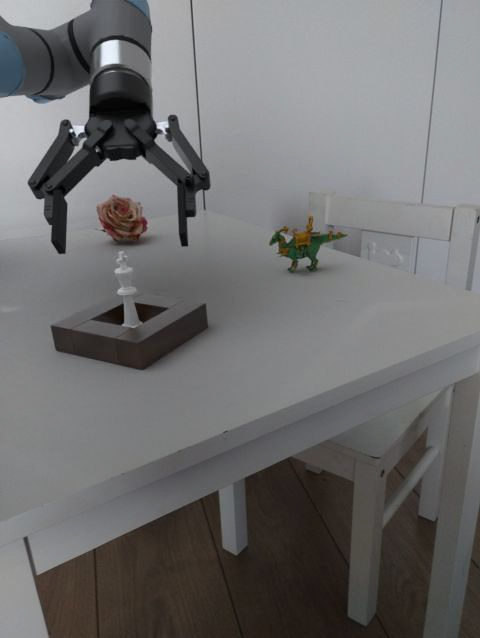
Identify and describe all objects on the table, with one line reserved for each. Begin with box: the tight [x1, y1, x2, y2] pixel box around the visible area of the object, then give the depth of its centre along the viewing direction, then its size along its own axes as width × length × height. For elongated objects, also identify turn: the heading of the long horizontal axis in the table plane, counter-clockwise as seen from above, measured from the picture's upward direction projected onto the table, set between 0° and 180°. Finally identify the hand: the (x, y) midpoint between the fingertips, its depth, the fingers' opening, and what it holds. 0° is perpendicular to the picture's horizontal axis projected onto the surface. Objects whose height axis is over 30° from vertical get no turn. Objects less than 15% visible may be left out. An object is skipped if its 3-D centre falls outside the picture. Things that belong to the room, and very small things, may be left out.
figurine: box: [268, 214, 349, 274], centre depth 84 cm, size 3×12×8 cm, turn 100°
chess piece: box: [114, 251, 142, 328], centre depth 63 cm, size 5×5×10 cm
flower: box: [94, 194, 149, 246], centre depth 107 cm, size 10×9×8 cm
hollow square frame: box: [50, 292, 209, 371], centre depth 64 cm, size 12×12×3 cm
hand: (121, 244), depth 62 cm, fingers open, 13 cm apart
